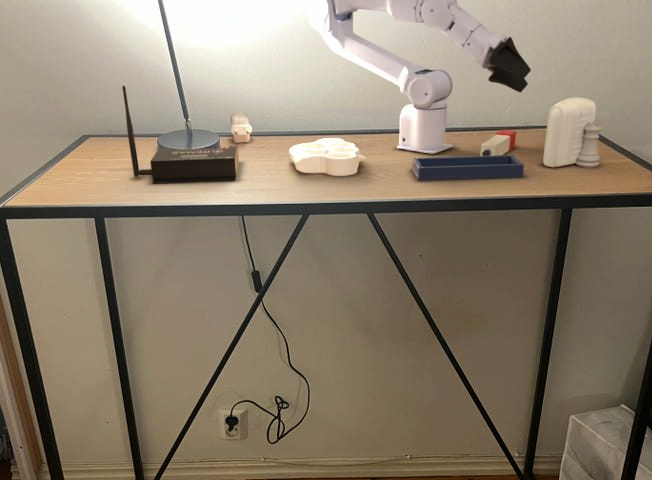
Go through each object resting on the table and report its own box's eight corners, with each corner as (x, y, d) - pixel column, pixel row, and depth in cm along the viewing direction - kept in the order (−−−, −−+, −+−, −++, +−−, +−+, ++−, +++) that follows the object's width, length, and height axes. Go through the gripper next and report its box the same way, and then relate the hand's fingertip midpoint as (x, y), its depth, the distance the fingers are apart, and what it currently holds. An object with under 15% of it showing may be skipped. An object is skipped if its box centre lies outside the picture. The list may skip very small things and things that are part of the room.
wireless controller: (239, 162, 149) (233, 74, 141) (235, 181, 137) (228, 85, 129) (143, 166, 149) (130, 78, 140) (130, 184, 137) (115, 89, 128)
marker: (492, 162, 145) (494, 145, 143) (477, 160, 146) (478, 144, 145) (514, 146, 156) (516, 131, 154) (499, 145, 158) (501, 129, 156)
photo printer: (574, 157, 147) (583, 93, 141) (591, 161, 144) (601, 96, 138) (538, 165, 142) (546, 99, 136) (555, 169, 139) (564, 102, 133)
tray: (418, 181, 134) (418, 168, 133) (412, 170, 141) (412, 158, 140) (522, 177, 135) (524, 164, 134) (511, 167, 141) (512, 154, 140)
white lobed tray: (287, 156, 153) (354, 152, 155) (298, 179, 137) (373, 174, 139) (286, 140, 151) (354, 136, 153) (297, 161, 136) (373, 156, 138)
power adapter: (254, 148, 161) (252, 120, 158) (232, 149, 160) (230, 122, 157) (250, 137, 170) (248, 111, 167) (229, 138, 170) (227, 112, 167)
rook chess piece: (600, 163, 142) (607, 121, 138) (597, 169, 139) (604, 126, 135) (577, 161, 144) (583, 120, 140) (573, 166, 140) (579, 124, 136)
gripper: (488, 4, 133) (543, 50, 132) (486, 36, 148) (536, 78, 146) (461, 35, 135) (516, 81, 133) (462, 64, 149) (512, 105, 147)
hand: (525, 81), depth 139 cm, fingers open, 7 cm apart
